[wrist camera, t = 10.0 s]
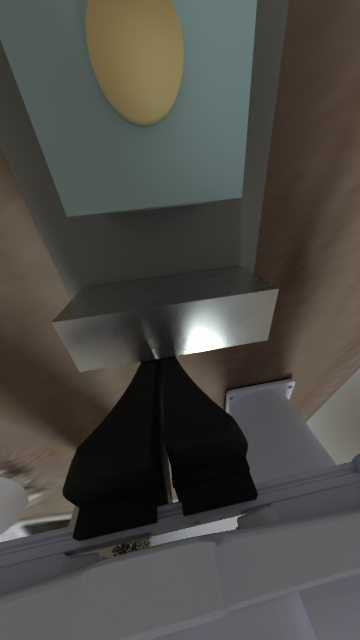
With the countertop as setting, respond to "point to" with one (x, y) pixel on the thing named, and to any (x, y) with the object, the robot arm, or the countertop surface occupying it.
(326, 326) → the countertop surface
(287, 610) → the robot arm
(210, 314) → the block
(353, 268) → the countertop surface
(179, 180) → the housing
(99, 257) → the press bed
